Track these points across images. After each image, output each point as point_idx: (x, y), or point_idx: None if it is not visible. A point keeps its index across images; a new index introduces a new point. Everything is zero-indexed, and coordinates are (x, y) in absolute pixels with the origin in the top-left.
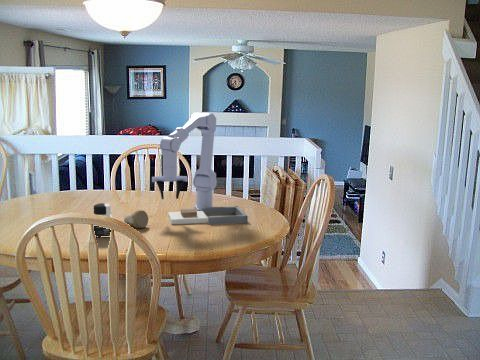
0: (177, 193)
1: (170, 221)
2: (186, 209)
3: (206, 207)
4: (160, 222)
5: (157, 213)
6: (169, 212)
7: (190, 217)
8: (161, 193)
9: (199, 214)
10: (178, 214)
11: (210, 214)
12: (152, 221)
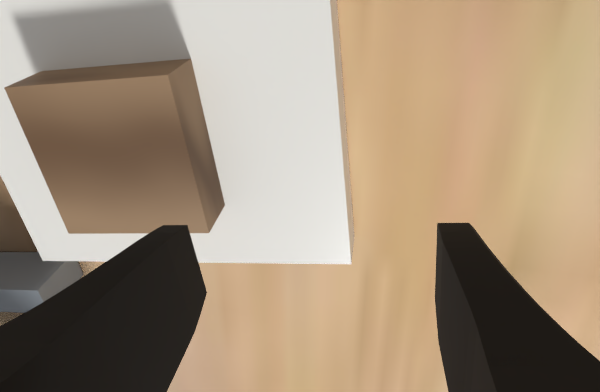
0: (115, 276)
1: (340, 50)
2: (144, 207)
3: (9, 304)
4: (457, 37)
5: None
6: (339, 253)
7: (101, 38)
8: (517, 293)
9: None
10: (245, 173)
11: (14, 252)
12: (545, 88)
